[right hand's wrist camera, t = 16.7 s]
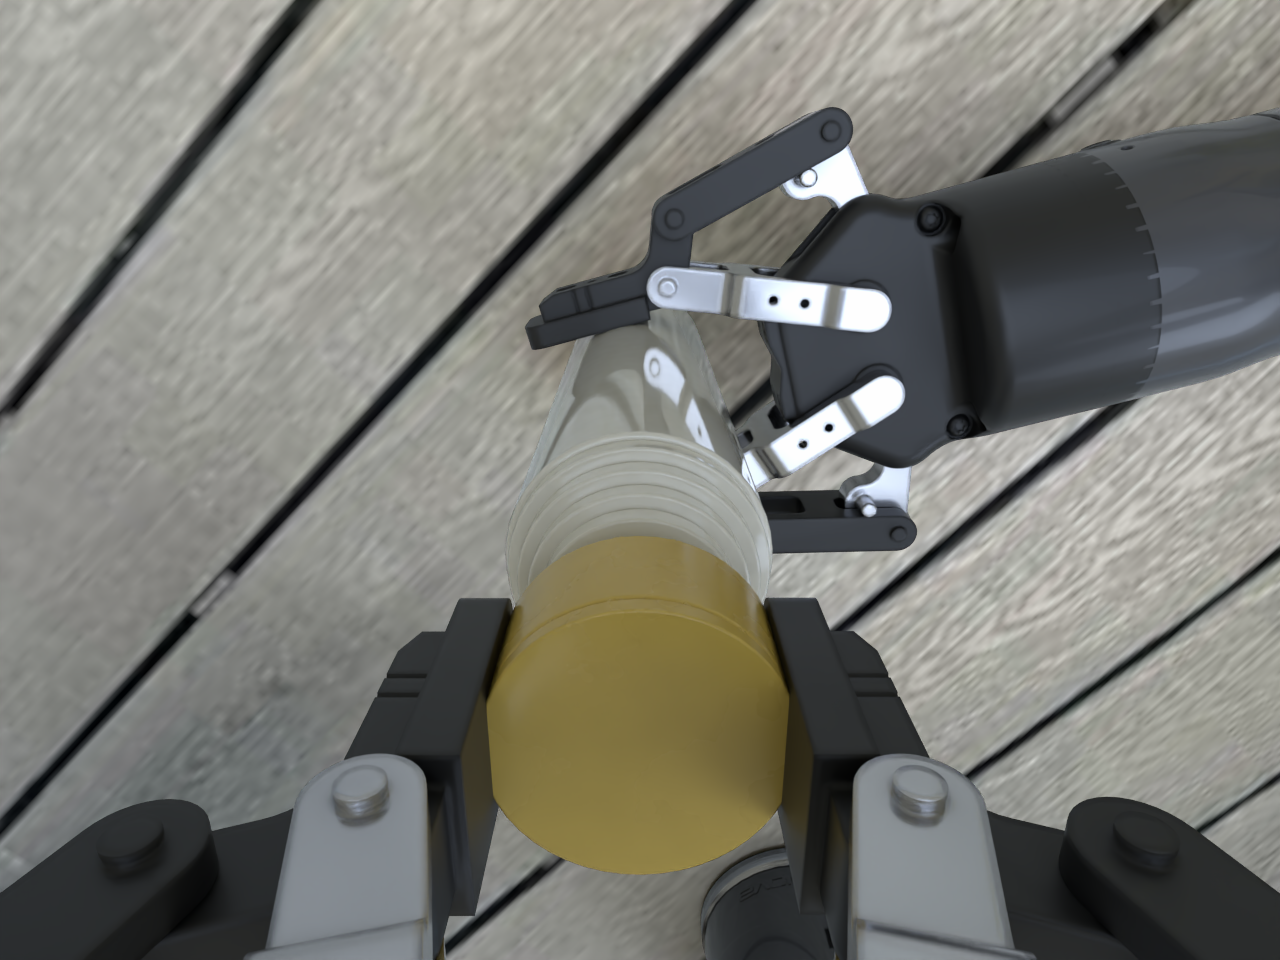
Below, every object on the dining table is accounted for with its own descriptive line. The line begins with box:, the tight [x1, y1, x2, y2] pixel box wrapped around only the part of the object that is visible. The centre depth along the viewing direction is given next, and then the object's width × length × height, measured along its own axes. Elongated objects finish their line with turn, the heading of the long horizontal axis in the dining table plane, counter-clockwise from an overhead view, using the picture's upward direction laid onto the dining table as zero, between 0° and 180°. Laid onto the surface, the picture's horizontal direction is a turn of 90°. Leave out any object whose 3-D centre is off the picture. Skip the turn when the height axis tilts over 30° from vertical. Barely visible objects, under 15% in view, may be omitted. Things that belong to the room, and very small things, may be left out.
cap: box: [486, 536, 789, 875], centre depth 11 cm, size 4×4×2 cm
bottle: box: [505, 308, 773, 605], centre depth 22 cm, size 5×5×23 cm
